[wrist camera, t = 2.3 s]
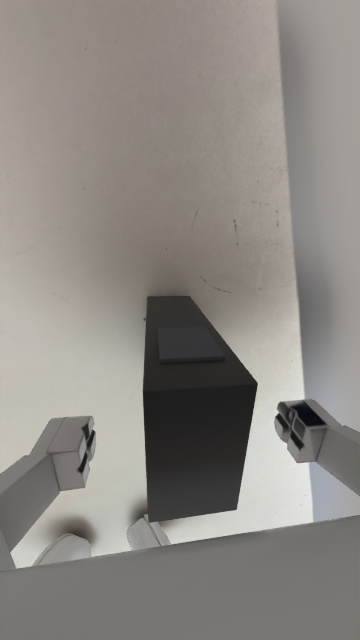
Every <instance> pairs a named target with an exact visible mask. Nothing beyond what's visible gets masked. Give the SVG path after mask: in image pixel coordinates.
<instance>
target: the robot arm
mask: <svg viewBox="0 0 360 640" xmlns="http://www.w3.org/2000/svg"><path fill="white" fill-rule="evenodd" d="M277 410H278V411H279V413H278V414H277V416H276V417H275V422H274V424H275V429H276V432H277V434H278V436H279V437H280V439H281V440H282V441H284V442H286V443H287V449H288V451H289V452H290V454H291V455H292V457H293V458H294V459H295V461H296V462H297V463H305V462H317V464H319V465H320V466H321V467H323V468H324V469H325V470H327V471H328V472H329V473H330V474H332V475H333V476H334V477H336V478H337V479H338V480H340V481H341V482H342V483H343V484H345V485H346V486H347V487H349V488H350V489H351V490H353V491H354V492H355V493H356V494H358V495H359V496H360V432H358V431H356V430H353V429H352V428H349V427H347V426H342V425H341V424H340V423H338V422H337V421H336V420H335V419H334V418H333V417H332V416H331V415H330V414H329V413H327V411H326V410H324V409H323V408H322V407H321V406H320V405H319V404H318V403H317V402H316V401H315V400H312V399H304V400H294V401H282V402H279V404H278V407H277ZM93 426H94V419H93V416H77V417H63V418H52V419H51V420H50V421H49V422H48V424H47V426H46V427H45V429H44V431H43V433H42V434H41V436H40V438H39V439H38V441H37V443H36V444H35V446H34V448H33V449H32V451H31V453H30V454H29V455H26V456H23V457H22V458H21V459H19V460H18V461H17V462H16V463H14V464H13V465H12V466H10V467H9V468H8V469H6V470H5V471H4V472H2V473H1V474H0V640H360V515H357V516H352V517H345V518H339V519H332V520H325V521H319V522H312V523H306V524H300V525H293V526H287V527H280V528H274V529H268V530H261V531H255V532H248V533H242V534H236V535H229V536H223V537H217V538H210V539H204V540H198V541H191V542H185V543H179V544H172V545H166V546H159V547H153V548H146V549H140V550H134V551H127V552H121V553H114V554H108V555H102V556H95V557H89V558H82V559H76V560H70V561H63V562H57V563H50V564H44V565H38V566H31V567H25V568H18V569H16V566H15V564H14V561H13V559H12V556H11V554H10V552H11V551H12V550H13V548H14V547H15V546H16V545H17V544H18V542H19V541H20V540H21V539H22V538H23V536H24V535H25V534H26V533H27V532H28V530H29V529H30V528H31V527H32V526H33V524H34V523H35V522H36V521H37V520H38V518H39V517H40V516H41V515H42V514H43V512H44V511H45V510H46V509H47V508H48V506H49V505H50V504H51V503H52V502H53V500H54V499H55V498H56V497H57V496H58V494H59V493H60V492H59V491H65V490H72V489H79V488H85V485H86V482H87V478H88V474H89V471H90V466H89V462H90V461H91V460H92V459H93V456H94V453H95V447H96V433H95V431H94V430H93Z"/></svg>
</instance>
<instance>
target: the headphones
mask: <svg viewBox="0 0 360 640" xmlns="http://www.w3.org/2000/svg"><path fill="white" fill-rule="evenodd" d="M126 536H127V540H128V543H129V545H130V548H131V551H134V550H140V549H146V548H153V547H159V546H166V545H171V543H170V541H169V539H168V537H167V536H166V534H165V532H164V531H163V529H162V528H161V526H160V525H159V523H158V522H152V523H149V521H148V514H145V515H144V519H143V518H141V519H139V520H138V521H137V522H136V523H135V524H134V525H131V526H130V527H129V528H128V530H127V534H126ZM89 557H91V547H90V544H89V542H88V541H87V540H86V539H84V538H80V537H78V536H75V535H73V534H71V533H67V534H64V535H62V536H60V537H58V538H57V539H55V540H54V541H53V542H52V543H51V544H50V545H49V546H48V547H47V548H46V549H45V550H44V551H43V552H42V553H41V555H40V556H39V557H38V558H37V560H36V561H35V563H34V564H33V565H32V566H38V565H44V564H50V563H57V562H63V561H70V560H76V559H82V558H89Z"/></svg>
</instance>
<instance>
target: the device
mask: <svg viewBox="0 0 360 640" xmlns="http://www.w3.org/2000/svg"><path fill="white" fill-rule="evenodd" d="M257 385H258V383H257V382H256V380H255V379H254V378H253V377H252V375H251V374H250V373H249V371H248V370H247V369H246V368H245V366H244V365H243V364H242V363H241V361H240V360H239V359H238V357H237V356H236V355H235V354H234V352H233V351H232V350H231V349H230V347H229V346H228V345H227V343H226V342H225V341H224V340H223V338H222V337H221V336H220V335H219V333H218V332H217V331H216V329H215V328H214V327H213V326H212V324H211V323H210V322H209V321H208V319H207V318H206V317H205V315H204V314H203V313H202V312H201V310H200V309H199V308H198V307H197V305H196V304H195V303H194V301H193V300H192V299H191V298H190V296H155V297H147V313H146V335H145V356H144V377H143V407H144V431H145V454H146V477H147V500H148V521H149V523H152V522H158V521H165V520H172V519H178V518H185V517H192V516H198V515H205V514H212V513H218V512H225V511H232V510H236V509H237V504H238V498H239V492H240V486H241V480H242V475H243V469H244V463H245V457H246V451H247V445H248V439H249V433H250V427H251V421H252V415H253V409H254V403H255V397H256V391H257Z"/></svg>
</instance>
